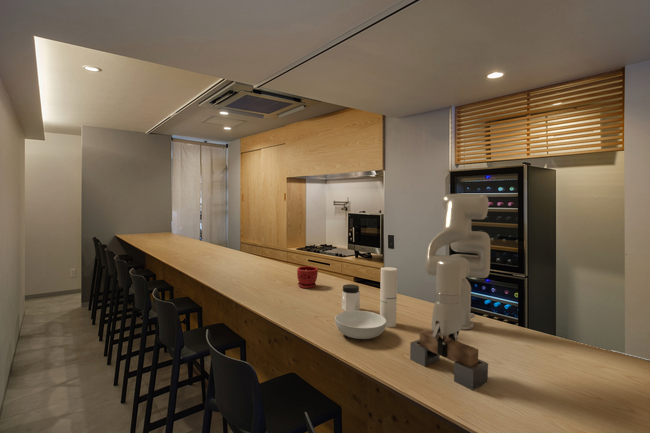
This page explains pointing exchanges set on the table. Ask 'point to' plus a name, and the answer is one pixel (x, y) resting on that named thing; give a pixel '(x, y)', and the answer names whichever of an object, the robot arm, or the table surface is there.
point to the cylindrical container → (388, 295)
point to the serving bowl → (360, 324)
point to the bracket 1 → (422, 354)
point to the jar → (350, 298)
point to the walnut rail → (451, 349)
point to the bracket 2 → (471, 374)
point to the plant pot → (307, 276)
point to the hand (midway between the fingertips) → (446, 353)
